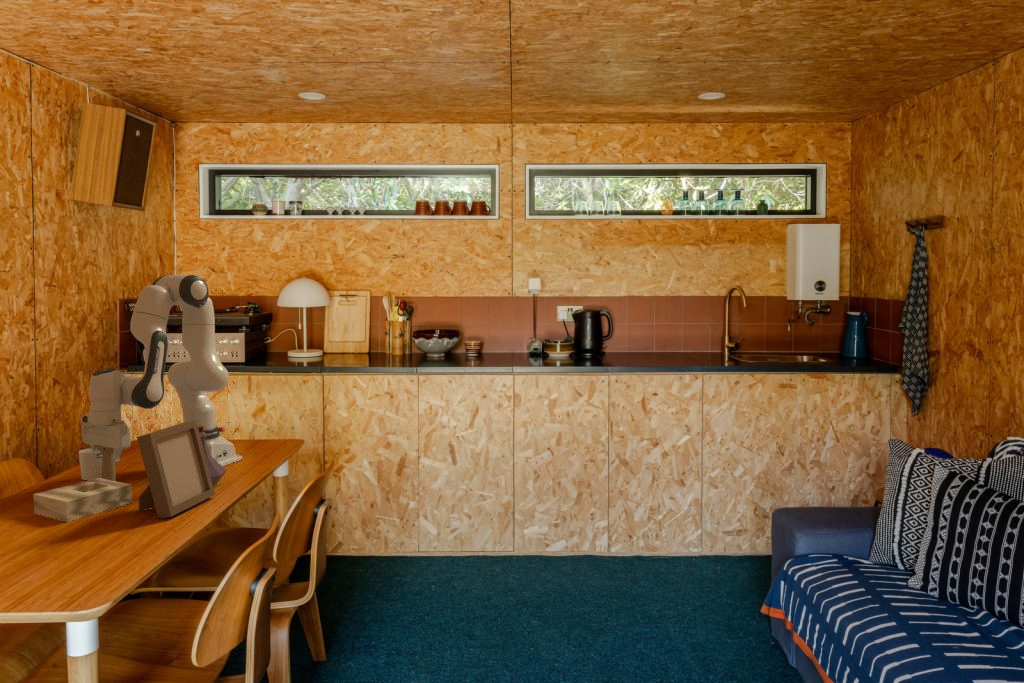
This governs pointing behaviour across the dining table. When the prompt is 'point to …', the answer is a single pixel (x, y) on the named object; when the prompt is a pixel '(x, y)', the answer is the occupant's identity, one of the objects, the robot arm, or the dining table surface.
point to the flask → (211, 460)
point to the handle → (107, 463)
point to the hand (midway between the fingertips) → (106, 459)
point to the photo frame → (174, 469)
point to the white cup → (90, 465)
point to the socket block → (82, 499)
